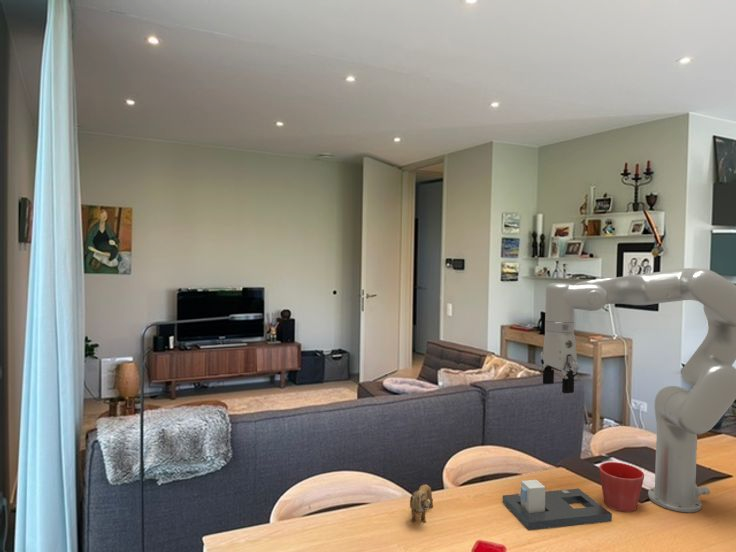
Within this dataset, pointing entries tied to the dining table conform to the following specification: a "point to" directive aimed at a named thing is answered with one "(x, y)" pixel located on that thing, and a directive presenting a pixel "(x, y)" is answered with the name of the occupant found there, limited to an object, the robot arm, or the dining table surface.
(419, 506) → the brown animal figurine
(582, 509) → the panel
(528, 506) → the plug
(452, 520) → the dining table surface
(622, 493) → the flower pot
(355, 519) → the dining table surface
